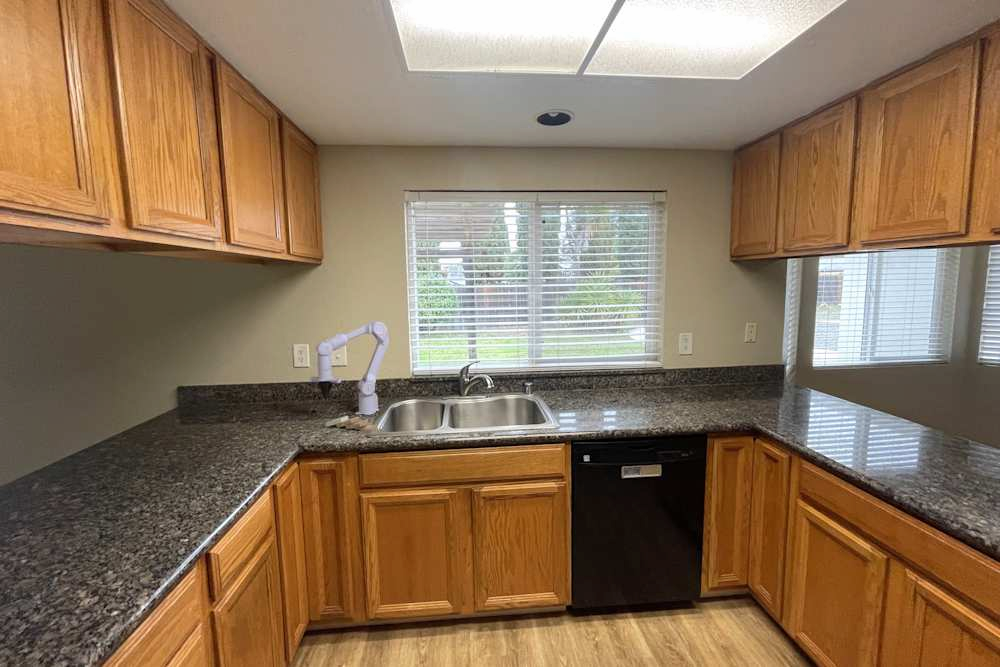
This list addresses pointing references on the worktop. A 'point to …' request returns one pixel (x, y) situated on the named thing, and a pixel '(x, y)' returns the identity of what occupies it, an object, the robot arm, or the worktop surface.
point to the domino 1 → (337, 421)
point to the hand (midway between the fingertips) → (326, 397)
